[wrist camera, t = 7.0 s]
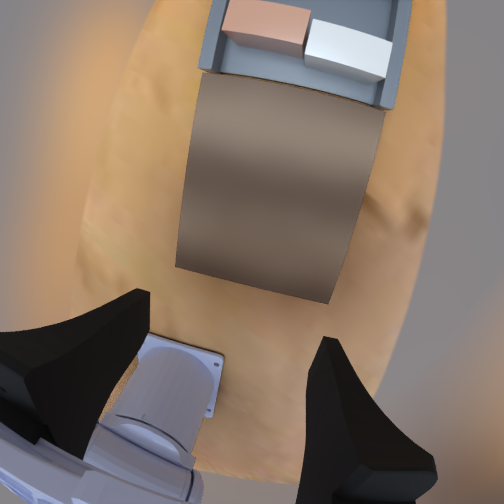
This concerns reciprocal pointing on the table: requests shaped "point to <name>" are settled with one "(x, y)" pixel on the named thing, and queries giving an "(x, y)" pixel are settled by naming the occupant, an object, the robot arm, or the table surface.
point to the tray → (291, 68)
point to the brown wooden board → (274, 184)
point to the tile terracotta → (268, 26)
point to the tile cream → (347, 52)
